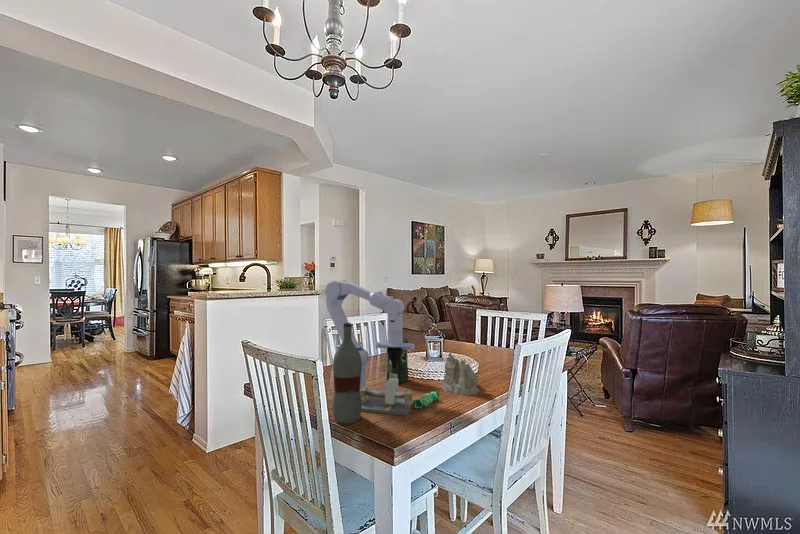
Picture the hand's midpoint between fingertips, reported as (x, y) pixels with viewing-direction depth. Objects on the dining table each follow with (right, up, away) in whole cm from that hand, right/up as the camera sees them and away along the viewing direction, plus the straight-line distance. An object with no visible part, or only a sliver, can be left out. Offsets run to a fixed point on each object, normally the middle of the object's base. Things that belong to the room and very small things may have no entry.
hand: (394, 368), depth 142 cm
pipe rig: (-3, -10, -12) cm, 16 cm away
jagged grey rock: (+27, -11, +9) cm, 31 cm away
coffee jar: (+1, -11, +19) cm, 22 cm away
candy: (+11, -11, -9) cm, 18 cm away
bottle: (-15, -10, -22) cm, 29 cm away
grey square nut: (-1, -8, -12) cm, 15 cm away
